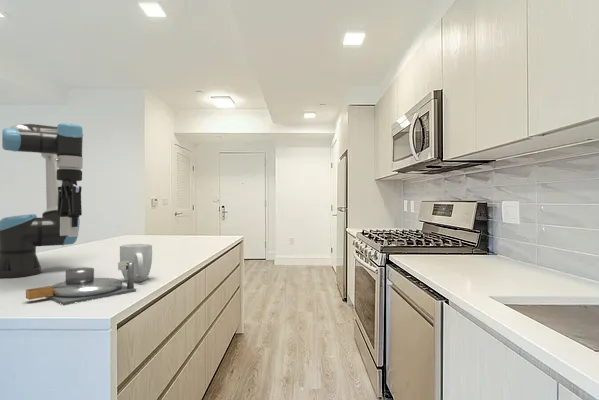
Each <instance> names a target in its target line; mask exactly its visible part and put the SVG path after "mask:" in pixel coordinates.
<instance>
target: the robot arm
mask: <svg viewBox="0 0 599 400" xmlns="http://www.w3.org/2000/svg"><path fill="white" fill-rule="evenodd" d="M1 134H2V136H1V137H2V138H1V139H2V141H1V147H2V149H3V150H5V151H9V152H21V153H22V152H23V153H24V152H25V153H39V154H41V157H42V158H44V160H45V186H46V188H45V190H46V191H45V192H46V193H45V194H46V195H45V198H46V199H45V200H46V210H44V212H43V213H42V216H41V217H37V214H34V213H31V214H21V215H12V216H7V217H3V218H1V219H0V279H5V278H6V279H8V278H9V279H10V278H21V277H22V278H23V277H29V276H34V275H38V274H40V273H41V272H42V266H41V264H40V261H39V259H38V255H37V250H36V249H37V247H49V246H53V247H54V246H66V245H73V244H75V243H76V242H77V240H78V237H79V231H80V221H81V220H80V216H82V215H83V213H82V212H83V211H82V189H83V188H82V186H81V185H78V182H81V181H82V180H83V171H82V170H81V169H83V137H84V134H83V127H82V126H81V125H79V124H76V123H70V122H69V123H68V122H61V123H58V125H57V126H55V125H54V126H53V125H52V126H51V125H44V124H35V123H22V124H16V125H13V126H11V127H9V128H7V127H5V128H2V133H1Z"/></svg>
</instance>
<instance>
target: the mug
mask: <svg viewBox="0 0 599 400" xmlns="http://www.w3.org/2000/svg"><path fill="white" fill-rule="evenodd" d="M121 261H130V262H134V283H135V282H136V283H138V282H143V281H145V280H147V278H148V277H149V275H150V272H151V268H152V264H153V263H152V262H153V244H152V243H142V242H135V243H134V242H133V243H125V244H120V245H119V262H121ZM120 271H121V273H122V274H121V275H122V276H123V278H124V280H125V281H126V282H127V270H120Z"/></svg>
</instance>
